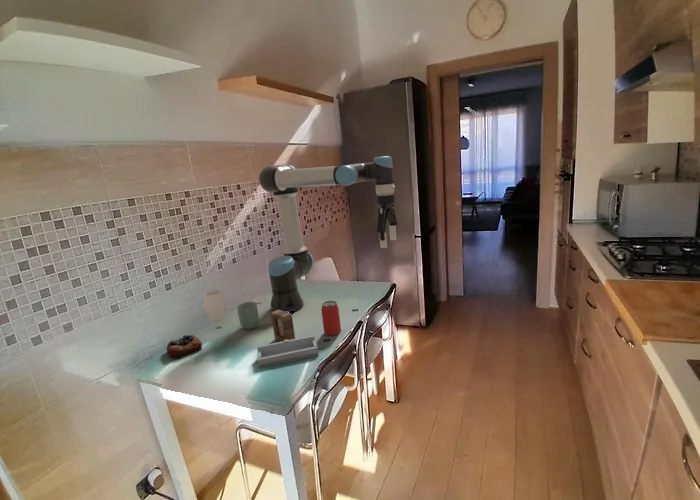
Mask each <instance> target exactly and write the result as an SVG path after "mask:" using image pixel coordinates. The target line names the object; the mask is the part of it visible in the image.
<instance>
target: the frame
mask: <svg viewBox="0 0 700 500" xmlns="http://www.w3.org/2000/svg"><path fill="white" fill-rule="evenodd" d="M270 315H271V322H272V330H273V334H274V335H273V336H274V340H276V341H278V342H282V341H284V340H292V339H296V334H295V329H294V322H293V315H292V312H291V313H288V312H285V311H282V310H276V311H273V312H272V311H271V312H270Z"/></svg>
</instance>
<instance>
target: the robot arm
mask: <svg viewBox="0 0 700 500" xmlns="http://www.w3.org/2000/svg"><path fill="white" fill-rule="evenodd" d="M258 182H259V183H258V184H259V185H260V187H261V188H262V189H263V190H264V191H265V192H268V193H272V195H273V197H274V198H276V199H277V205H278V209H279V211H278V212H279V216H280V223H281V227H282V233H283V238H284V245H285V249H284V251H283V255H280V256H278V257H275V258H273V259H271V260H270V261H269V262H268V275H269V280H270V286H271V287H270V288H271V293H272V294H271V295H272V296H271V300H270V310H271V312H273V311H276V310H282V311H290V310H292V311H294V312H297V311H299V310H300V309H302V308H303V307H304V299H303V298H302V296H301V293H300V292H299V289H298V283H297V282H298V281H297V280H299V279H301V278H303V277H304V276H307V275H308V274H309V273H310V272H311V271H312V269H313V267H314V261H315V260H314V257H313V255H312V254H311V253H310V252H309V250H308V247H306V246H305V245H304V239H303V234H302V228H301V223H300V215H299V209H298V203H297V202H298V201H297V195H298V194H299V190H298V188H306V187H307V188H308V187H327V186H345V187H346V186H351V185H354V184H358V183H359V184H360V183H361V182H375V194H376V204H377V205H379V206H380V207H379V208H378V210H377V211H378V212H377V213H378V217H377V227H376V233H379V235H378V236H379V245H380V246H379V248H380V249H387V248H388V241H387V232H386V229H387V225H388V224H387V222H388V223H389V226H388V229H389V230H388V231H389V241H397V229H396V228H397V227H396V226H398V221H397V216H396V212H395V211H396V210H395V205H394V204H395V203H396V198H395V194H394V193H395V188H396V186H395V185H394V184H395V183H394V165H393V159H392V157H391V156H389V155H385V156H384V155H383V156H376V157H374V158H373V161H372V162H363V163H362V162H361V163H352V164H345V165H334V166H333V165H331V166H319V167H316V166H315V167H303V168H296V167H294V165H290V164H278V165H268V166H265V167H264V168H263V169H261V171H260V172H259V175H258Z"/></svg>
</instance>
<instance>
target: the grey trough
mask: <svg viewBox="0 0 700 500" xmlns="http://www.w3.org/2000/svg"><path fill="white" fill-rule="evenodd" d="M315 337H316V336H315V335H314V334H313V335H310V336H309V335H307V336H303V337H298V338H297V337H296V338H295V339H292V340H284V341H282V342H281V341H278V342H272V343H269V344H264V345H258V346H256V349H257V362H258V368H259V369H262V368H266V367H270V366H271V367H272V366H277V365H280V364H285V363H290V362H294V361H299V360H305V359H309V358H313V357H318V356H320V355H319V348H318V345H317V341H316V338H315Z"/></svg>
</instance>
